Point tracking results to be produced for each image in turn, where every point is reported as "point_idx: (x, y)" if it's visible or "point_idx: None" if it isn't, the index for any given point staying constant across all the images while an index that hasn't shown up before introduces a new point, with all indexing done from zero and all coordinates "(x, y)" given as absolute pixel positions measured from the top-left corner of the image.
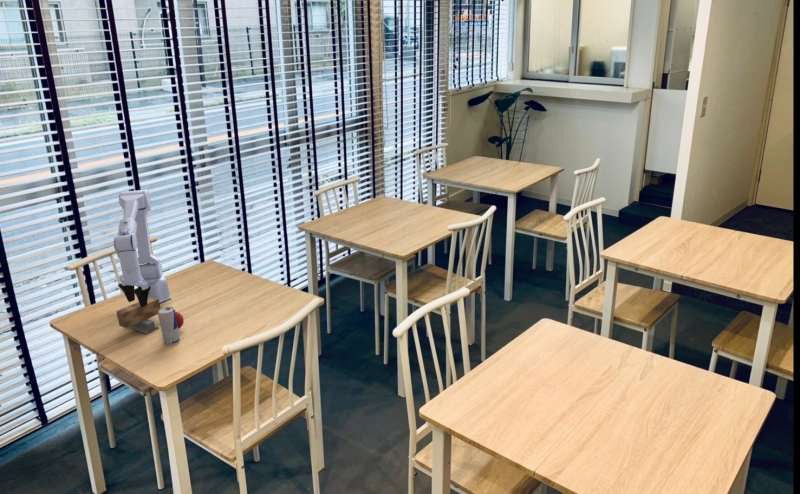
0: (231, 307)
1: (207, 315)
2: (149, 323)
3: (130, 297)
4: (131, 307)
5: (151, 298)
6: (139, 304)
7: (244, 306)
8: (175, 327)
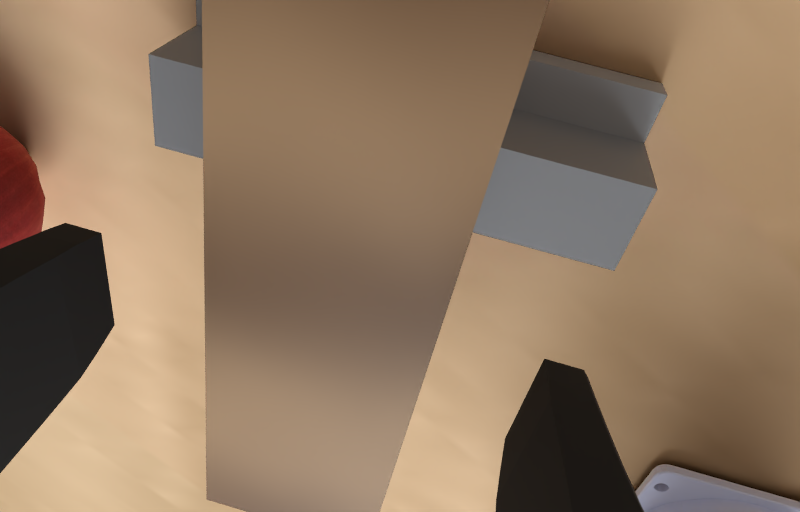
0: (66, 489)
1: (82, 400)
2: (153, 85)
3: (530, 477)
4: (338, 191)
5: (318, 506)
6: (305, 332)
7: (19, 501)
8: None
